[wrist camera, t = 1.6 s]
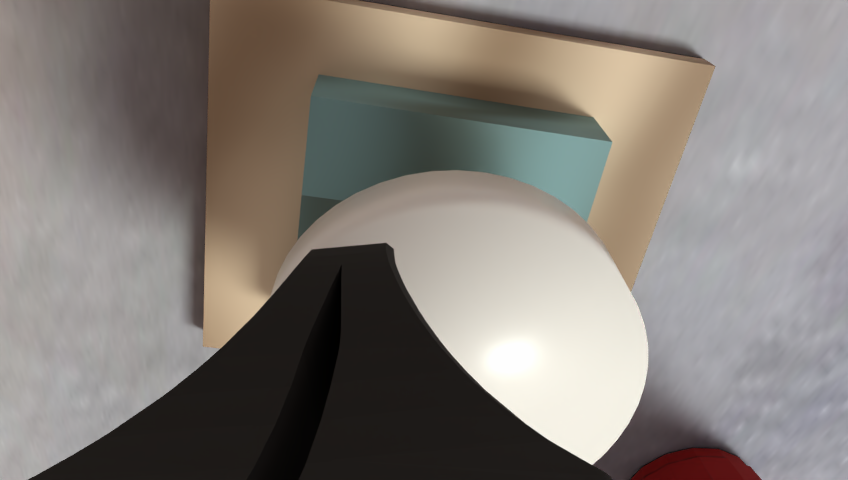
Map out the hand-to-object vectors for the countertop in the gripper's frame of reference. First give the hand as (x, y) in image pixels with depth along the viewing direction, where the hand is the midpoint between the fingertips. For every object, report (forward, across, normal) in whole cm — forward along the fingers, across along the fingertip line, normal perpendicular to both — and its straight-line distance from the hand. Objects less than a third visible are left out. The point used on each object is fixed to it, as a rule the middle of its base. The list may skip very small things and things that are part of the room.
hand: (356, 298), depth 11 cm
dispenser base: (+10, -2, +4) cm, 11 cm away
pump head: (+6, -2, +4) cm, 7 cm away
